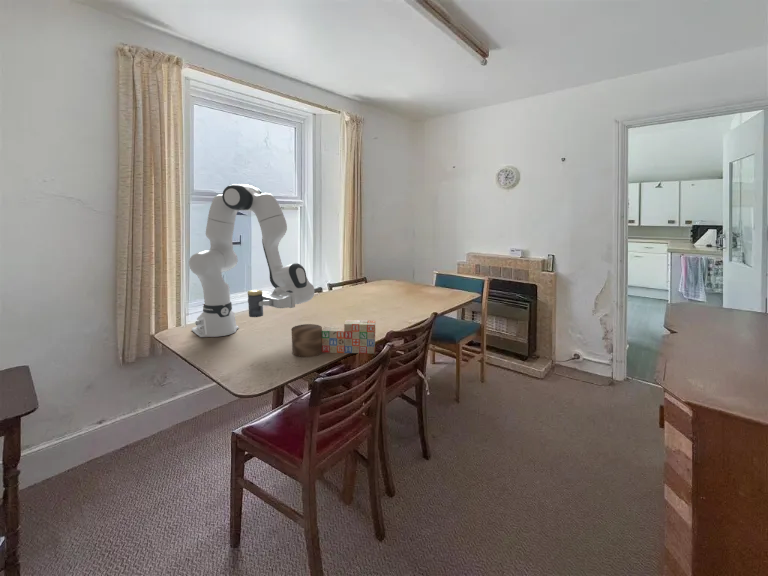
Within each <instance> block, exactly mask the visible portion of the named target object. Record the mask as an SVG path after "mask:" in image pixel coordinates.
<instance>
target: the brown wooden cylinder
mask: <svg viewBox="0 0 768 576" xmlns="http://www.w3.org/2000/svg"><path fill="white" fill-rule="evenodd" d="M290 330H291V347H292V348H291V349H292V351H291V352H292V353H291V354H292V355H293V356H295V357H298V358H311V357H313V358H314V357H316V356H320V355H321V354H322V353H323V352H322V330H323V327H322V326H321V325H319V324H313V323H312V324H311V323H305V324H298V325H295V326H293V327H291V329H290Z"/></svg>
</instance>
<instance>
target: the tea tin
mask: <svg viewBox="0 0 768 576" xmlns="http://www.w3.org/2000/svg"><path fill="white" fill-rule="evenodd" d="M263 291H264V290H261V289H252V290H251V289H250V290H247V303H248V317H250V318H260V317H263V316H264V306H258V301H263V296H262V294H263Z"/></svg>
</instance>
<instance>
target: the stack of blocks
mask: <svg viewBox="0 0 768 576" xmlns="http://www.w3.org/2000/svg"><path fill="white" fill-rule="evenodd" d="M343 324H344V325H343V326H324V327H322V353H331V354H332V353H333V354H335V353H336V354H337V353H338V354H375V351H376V320H369V319H345V321H344V323H343Z"/></svg>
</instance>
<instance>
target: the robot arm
mask: <svg viewBox="0 0 768 576" xmlns="http://www.w3.org/2000/svg"><path fill="white" fill-rule="evenodd" d="M249 210H250V211H252V212H253V213H254V215H255V216H256V219H257V221H258V224H259V226H260V230H261V231H260V232H261V236H262V237H261V243H262V247H263V253H264V257H265V259H266V264H267V267H268V271H269V281H270V283H271V286H272V287H273V288H274V289H273V291H272V292H271V291H267V290H265V291H264V290H262V291H263V294H262V296H263V301H258V306H263V307H264V306H268V307H272V308H276V309H288V308H289V309H294V308H296V305H301V304H304V303H307V302H309V301H311V300H312V299H313V298H314V297H315V286H314V285H313V284H312V283H311V282H310V280H309V279H308V277H307V272H306V269H305V268H304V266H302V264H300V263H297V262H294V263H290V264H288V265H285V266H284V265H283V263H282V259H281V256H280V251H279V246H280V245H279V244H280V243H281V241H282V239H283V238H284V237H285V235H286V233H287V231H288V225H287V224H288V223H287V220H286V218H285V217H286V216H285V215H284V213H283V212H284V211H283V210H282V208H281V206H280V204H279V202H278V200H277V199H276V197H275V196H274V195H273V194H272V193H268V192H264V193H263V192H262V190H260V188H259V187H257V186H256V185H251V184H250V185H249V184H246V183H241V184H240V183H238V184H237V183H233V184H230V185H227V186H226V187H224V189H223V192H222V194H217V195H215V196H214V197H213V199H212V202H211V204H210V207H209V209H208V215H207V222H206V227H205V236H206V238H207V239H208V240H209V243H210V245H209V246H210V249H207V250H200V251H197V252H196V253H194V254H192V255H191V256H190V258H189V260H188V266H189V269H190V271H191V272H192V273H193V274H195V276H197V277H198V279H199V281H200V283H201V286H202V292H203V299H204V303H202V312H201V313H200V315H199V316H198V317H196V320H195V321H194V322H195V327H194V326H193V327H192V328H191V331H192V332H193V333H194V334H195V335H197V336H198V337H199V338H208V337H211V338H214V337H215V338H217V337H225V336H228V335H232V334H234V333H236V332H237V330H238V329H240V327H239V325H237V322H236V321H237V320H236V315H235V312H234V311H233V303H232V301H231V290H230V285H229V284H228V283H227V282H226V281H225V280H224V278H223V274H222V273H226V272H228V271H230V270H232V269H234V268H235V267H236V266H237V265H238V261H239V260H238V255H237V253H236V252H235V249H234V245H233V235H234V229H235V222H236V217H237V214H238V212H239V211H249Z"/></svg>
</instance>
